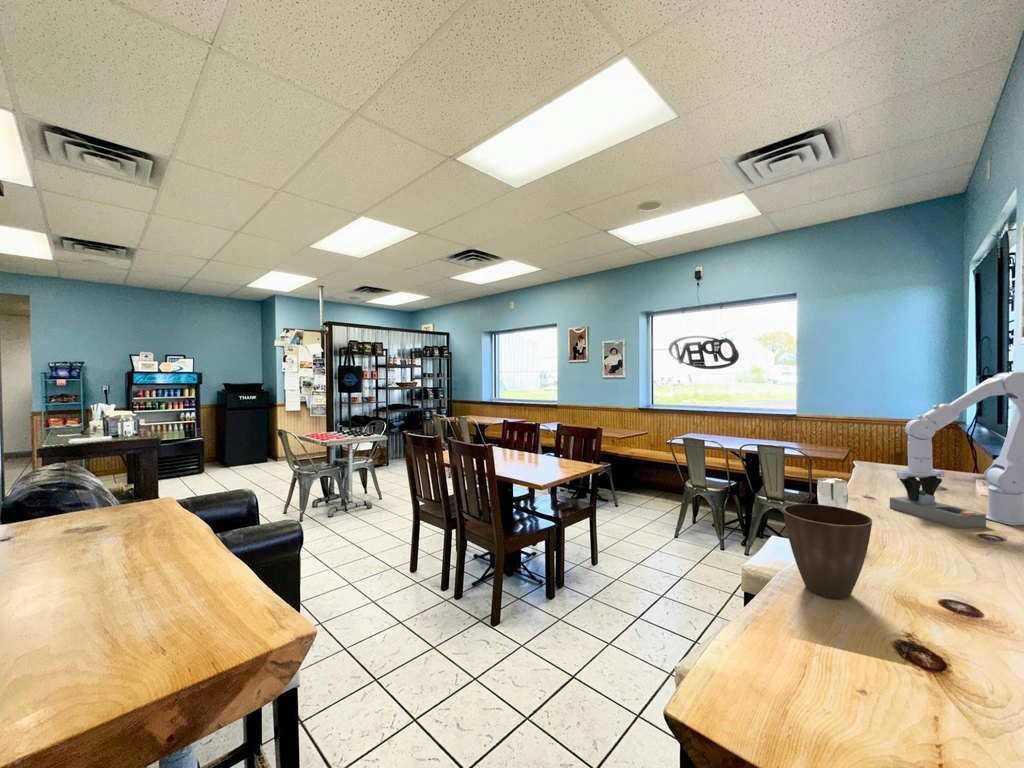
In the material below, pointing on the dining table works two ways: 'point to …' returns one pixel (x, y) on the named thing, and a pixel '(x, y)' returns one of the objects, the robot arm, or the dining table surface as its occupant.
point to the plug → (923, 498)
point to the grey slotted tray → (940, 513)
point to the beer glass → (832, 492)
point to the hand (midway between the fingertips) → (920, 500)
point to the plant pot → (828, 546)
